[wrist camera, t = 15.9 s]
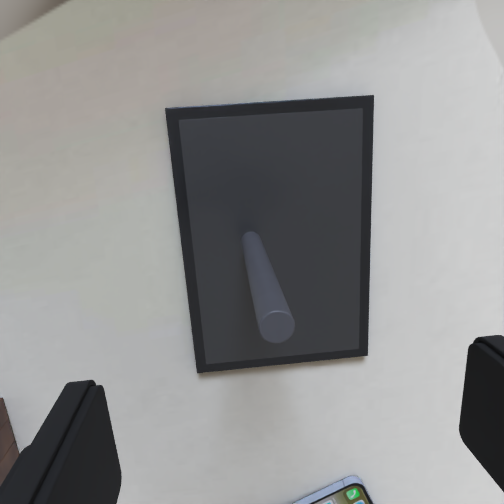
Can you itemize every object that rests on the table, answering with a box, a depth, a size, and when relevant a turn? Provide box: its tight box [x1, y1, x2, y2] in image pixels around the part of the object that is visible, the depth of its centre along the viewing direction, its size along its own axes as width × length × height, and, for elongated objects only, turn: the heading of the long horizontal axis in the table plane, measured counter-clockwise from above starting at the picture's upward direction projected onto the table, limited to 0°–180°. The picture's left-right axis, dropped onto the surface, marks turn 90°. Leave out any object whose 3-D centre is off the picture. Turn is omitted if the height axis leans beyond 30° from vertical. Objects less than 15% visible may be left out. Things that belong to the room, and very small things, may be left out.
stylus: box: [241, 232, 295, 343], centre depth 21 cm, size 1×1×14 cm
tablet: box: [165, 95, 374, 373], centre depth 29 cm, size 20×14×1 cm
